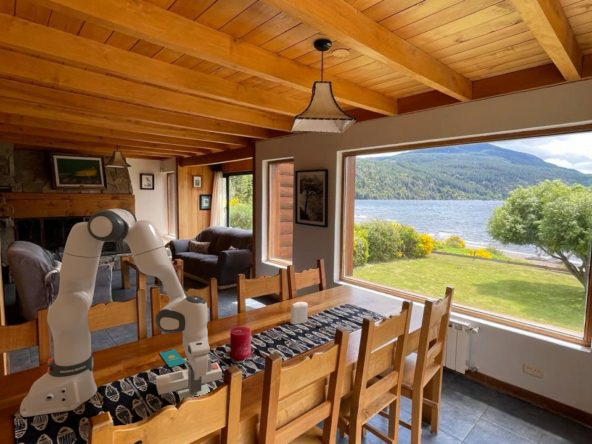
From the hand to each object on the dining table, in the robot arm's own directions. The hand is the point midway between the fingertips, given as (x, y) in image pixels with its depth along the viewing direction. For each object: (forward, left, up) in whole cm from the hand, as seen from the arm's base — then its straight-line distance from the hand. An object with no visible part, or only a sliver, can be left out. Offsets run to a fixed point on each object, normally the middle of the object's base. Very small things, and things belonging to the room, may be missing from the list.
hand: (194, 375), depth 126 cm
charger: (0, 0, -6) cm, 6 cm away
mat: (0, 0, -7) cm, 7 cm away
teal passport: (-3, +30, -8) cm, 31 cm away
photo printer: (+69, +41, -8) cm, 81 cm away
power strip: (0, +8, -7) cm, 11 cm away
